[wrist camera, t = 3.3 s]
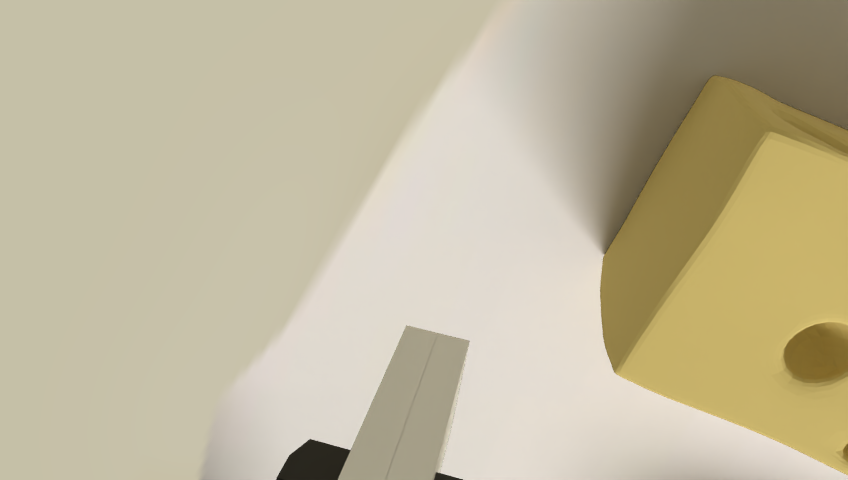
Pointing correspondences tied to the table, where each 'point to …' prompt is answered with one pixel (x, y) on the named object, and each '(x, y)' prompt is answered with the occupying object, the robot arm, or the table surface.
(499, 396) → the table surface
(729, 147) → the cheese
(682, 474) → the table surface
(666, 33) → the table surface
